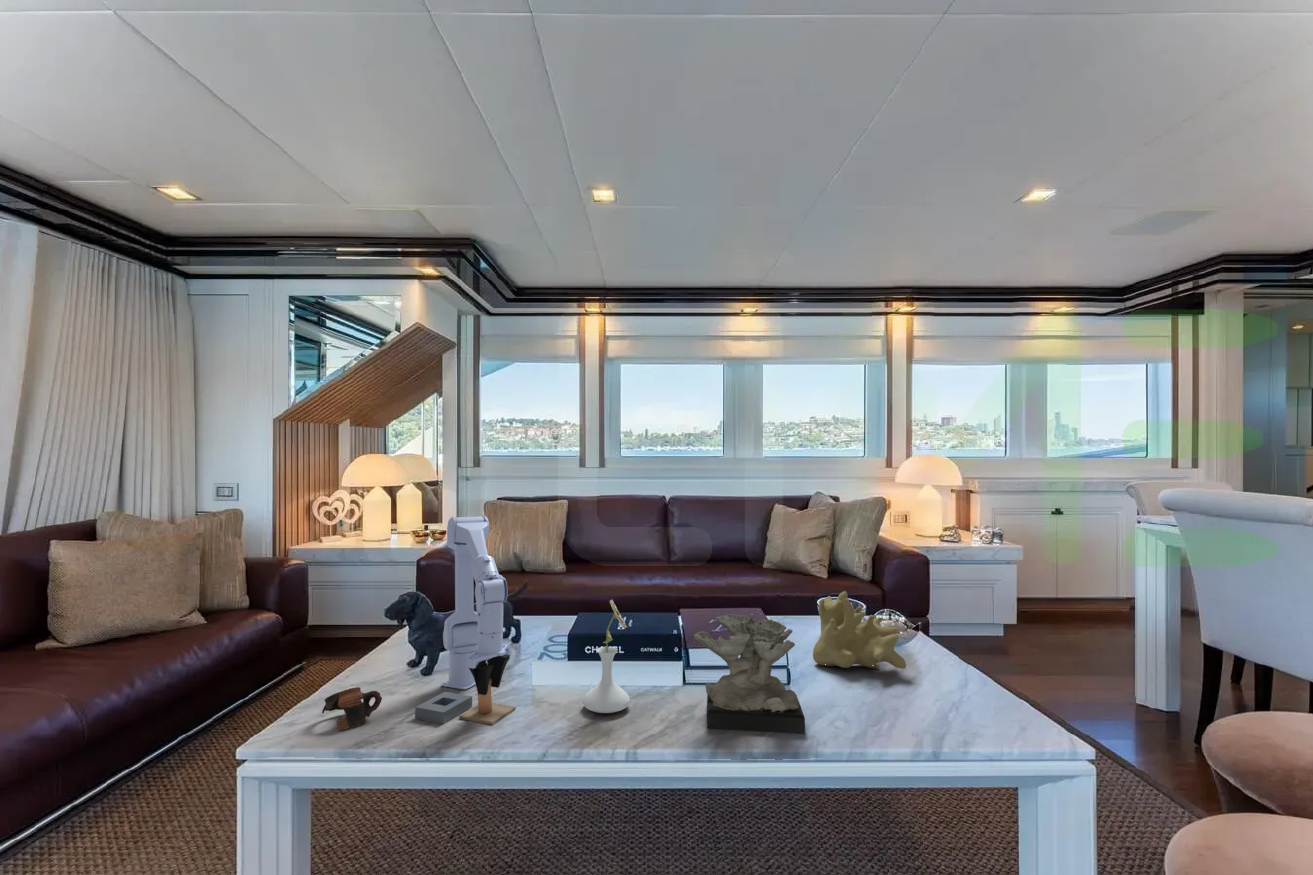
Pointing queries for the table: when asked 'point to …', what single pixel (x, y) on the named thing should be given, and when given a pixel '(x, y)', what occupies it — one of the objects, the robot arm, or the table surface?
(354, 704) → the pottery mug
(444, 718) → the socket
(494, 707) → the coaster
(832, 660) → the decorative coral
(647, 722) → the table surface
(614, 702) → the flower in vase
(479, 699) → the plug
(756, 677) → the coral
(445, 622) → the robot arm
